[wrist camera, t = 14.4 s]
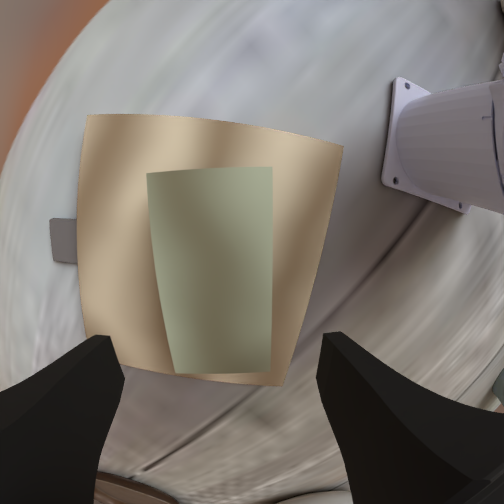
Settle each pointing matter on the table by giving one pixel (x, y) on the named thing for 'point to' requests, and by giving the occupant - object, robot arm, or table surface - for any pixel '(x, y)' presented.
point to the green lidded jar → (499, 387)
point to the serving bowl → (321, 498)
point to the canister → (502, 5)
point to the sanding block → (214, 266)
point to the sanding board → (139, 233)
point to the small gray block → (64, 239)
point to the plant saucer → (127, 491)
